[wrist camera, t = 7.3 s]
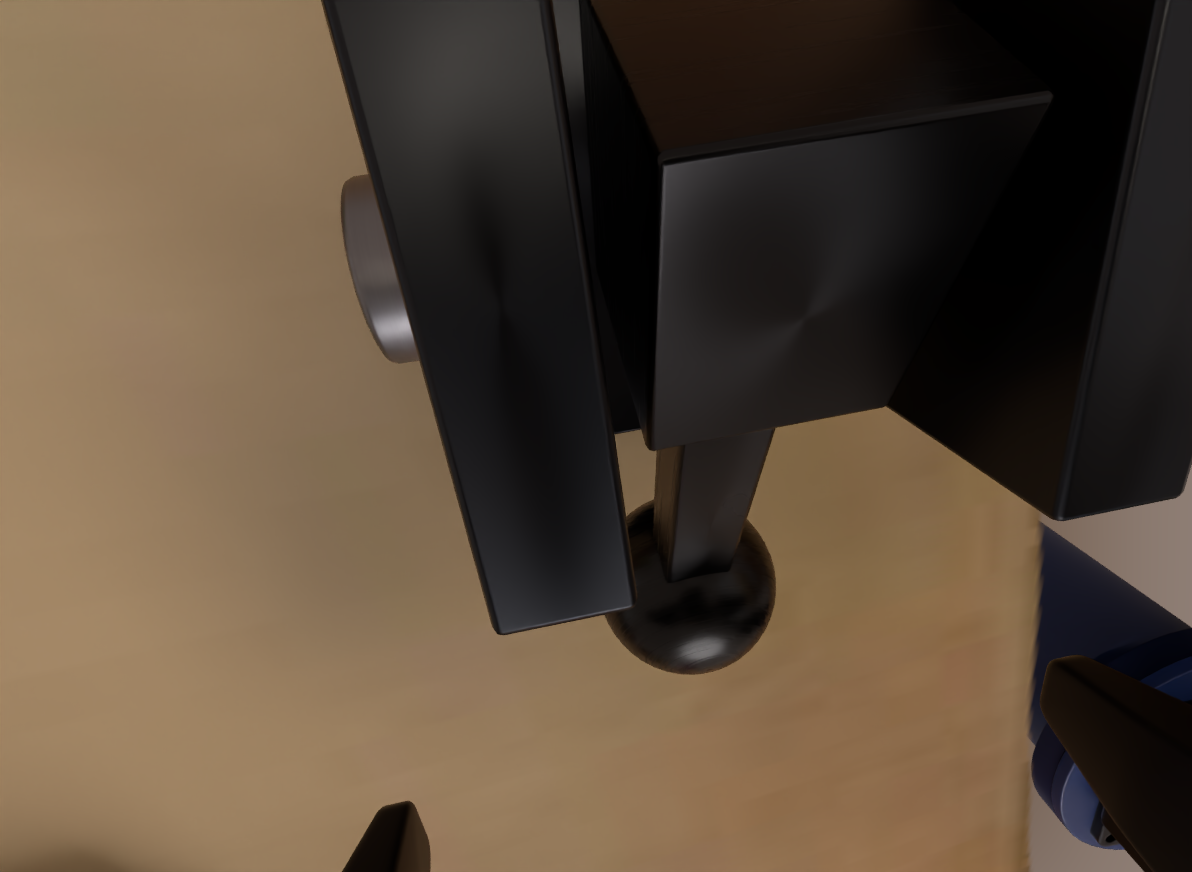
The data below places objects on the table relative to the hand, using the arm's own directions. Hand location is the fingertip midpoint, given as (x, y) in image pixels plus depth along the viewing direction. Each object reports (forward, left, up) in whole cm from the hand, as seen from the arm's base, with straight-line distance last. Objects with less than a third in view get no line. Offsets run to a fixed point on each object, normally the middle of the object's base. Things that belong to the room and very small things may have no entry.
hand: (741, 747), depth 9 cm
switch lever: (0, -4, -3) cm, 5 cm away
